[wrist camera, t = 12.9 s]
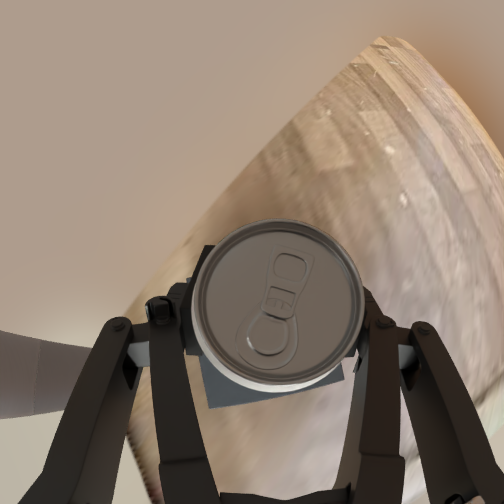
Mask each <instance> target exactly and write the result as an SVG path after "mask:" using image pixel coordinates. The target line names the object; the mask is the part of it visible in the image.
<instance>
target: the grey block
mask: <svg viewBox="0 0 504 504" xmlns="http://www.w3.org/2000/svg"><path fill="white" fill-rule="evenodd" d="M186 280H187V283H189V282H190V280H191V277H190V278H186ZM199 361H200V366H201V372H202V377H203V382H204V387H205V391H206V396H207V401H208V406H209V409H215V408H222V407H229V406H235V405H241V404H247V403H252V402H258V401H263V400H268V399H272V398H277V397H282V396H286V395H290V394H295V393H299V392H303V391H307V390H310V389H314V388H318V387H321V386H325V385H329V384H332V383H335V382H339V381H342V380H344V374H343V370H342V365H341V362H340V364H339V365H338V366H337V367H336V368H335V369H334V370H333V371H332V372H330V373H329V374H328V375H327V376H325V377H324V378H322V379H321V380H319V381H318V382H316V383H314V384H312V385H309V386H307V387H304V388H301V389H298V390H294V391H288V392H264V391H258V390H254V389H250V388H247V387H245V386H242V385H240V384H238V383H236V382H234V381H232V380H231V379H229V378H228V377H226V376H225V375H224V374H222V373H221V372H220V371H219V370H218V369H217V368H216V367H215V366H214V365H213V364H212V363H211V362H210V361H209V359H208V358H207V357H206V355H205V354H204V352H203V355H202V356H199Z"/></svg>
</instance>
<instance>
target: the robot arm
mask: <svg viewBox="0 0 504 504" xmlns="http://www.w3.org/2000/svg"><path fill="white" fill-rule="evenodd" d="M215 246H216V245H205V246H204V248H203V251H202V253H201V256H200V258H199V260H198V263H197V265H196V268H195V270H194V272H193V275H192V277H191V280H190V282H189V283H175V284H174V285H173V286H172V287H171V288H170V290H169V292H168V294H167V296H157V297H153V298H151V299H149V300H148V301H147V302H146V304H145V309H146V314H147V318H148V322H147V323H142V324H135V325H132V323H131V321H130V320H129V319H128V318H126V317H115V318H112V319H110V320H108V321H107V322H106V323H105V325H104V326H103V328H102V330H101V332H100V334H99V336H98V338H97V340H96V342H95V344H94V346H93V348H92V350H91V352H90V354H89V356H88V359H87V361H86V363H85V365H84V367H83V369H82V371H81V373H80V376H79V378H78V380H77V382H76V385H75V387H74V389H73V391H72V394H71V396H70V398H69V401H68V403H67V406H66V408H65V410H64V413H63V416H62V418H61V420H60V423H59V426H58V428H57V431H56V433H55V436H54V439H53V442H52V445H51V447H50V450H49V453H48V456H47V459H46V462H45V465H44V468H43V471H42V473H41V474H40V476H39V477H38V478H37V479H36V481H35V482H34V483H33V485H32V486H31V487H30V488H29V490H28V491H27V492H26V494H25V495H24V496H23V497H22V499H21V500H20V501H19V503H18V504H112V500H113V495H114V489H115V483H116V478H117V473H118V468H119V463H120V458H121V453H122V449H123V444H124V440H125V436H126V431H127V427H128V423H129V419H130V415H131V411H132V407H133V403H134V399H135V395H136V391H137V388H138V384H139V380H140V377H141V373H142V370H143V367H147V366H150V373H151V386H152V398H153V408H154V417H155V426H156V433H157V441H158V448H159V454H160V464H159V475H160V481H161V486H162V491H163V496H164V501H165V504H401V502H402V494H403V485H404V475H405V459H404V457H401V456H400V455H399V444H400V412H401V399H400V386H401V390H402V393H403V396H404V399H405V403H406V406H407V409H408V413H409V416H410V420H411V424H412V427H413V431H414V435H415V439H416V443H417V447H418V451H419V455H420V459H421V464H422V468H423V473H424V478H425V483H426V488H427V493H428V497H429V501H430V504H504V473H503V472H502V471H501V469H500V468H499V467H498V465H497V464H496V462H495V458H494V455H493V453H492V450H491V447H490V444H489V441H488V439H487V436H486V433H485V431H484V428H483V426H482V423H481V421H480V419H479V416H478V414H477V411H476V409H475V407H474V404H473V402H472V400H471V398H470V396H469V393H468V391H467V389H466V387H465V385H464V383H463V381H462V379H461V377H460V375H459V373H458V371H457V369H456V367H455V365H454V363H453V361H452V359H451V357H450V355H449V353H448V351H447V349H446V348H445V346H444V344H443V342H442V340H441V339H440V337H439V335H438V333H437V331H436V330H435V328H434V327H433V326H432V325H430V324H429V323H427V322H422V321H418V322H415V323H413V324H412V327H411V329H408V328H402V327H397V326H396V323H395V321H394V320H393V319H392V318H390V317H388V316H385V315H383V313H382V311H381V310H380V308H379V306H378V304H377V303H376V301H375V299H374V298H373V296H372V294H371V292H370V291H369V290H368V289H366V288H365V287H364V286H363V290H364V299H365V307H364V317H363V322H362V326H361V329H360V332H359V334H358V337H357V339H356V341H355V343H354V344H353V346H352V348H351V349H350V351H349V352H348V353H347V355H346V356H345V357H354V355H355V352H356V349H357V350H358V353H359V356H358V359H357V362H356V365H355V367H354V370H353V372H354V373H355V380H354V388H353V395H352V402H351V408H350V415H349V421H348V426H347V432H346V437H345V442H344V447H343V452H342V457H341V461H340V466H339V470H338V474H337V478H336V482H335V484H334V486H333V488H332V490H325V491H317V492H314V493H311V494H308V495H304V496H301V497H297V498H294V499H290V500H279V499H273V498H268V497H264V496H259V495H255V494H240V493H224V492H220V497H219V494H218V491H217V488H216V485H215V481H214V478H213V475H212V471H211V468H210V465H209V461H208V458H207V454H206V451H205V447H204V443H203V439H202V436H201V432H200V428H199V424H198V419H197V415H196V411H195V407H194V402H193V398H192V393H191V389H190V384H189V379H188V374H187V369H186V364H185V359H184V354H183V353H184V349H186V355H197V356H202V355H203V350H202V349H201V347H200V345H199V343H198V340H197V338H196V335H195V332H194V328H193V323H192V313H191V305H192V296H193V291H194V287H195V284H196V281H197V278H198V274H199V272H200V269H201V267H202V265H203V263H204V261H205V259H206V258H207V256H208V255H209V253H210V252H211V251H212V250H213V248H214V247H215ZM355 371H356V372H355Z"/></svg>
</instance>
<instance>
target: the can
mask: <svg viewBox="0 0 504 504" xmlns="http://www.w3.org/2000/svg"><path fill="white" fill-rule="evenodd" d="M364 307H365V299H364V290H363V285H362V281H361V278H360V275H359V272H358V270H357V268H356V266H355V264H354V262H353V260H352V259H351V257H350V256H349V254H348V253H347V252H346V250H345V249H344V248H343V247H342V246H341V245H340V244H339V243H338V242H337V241H336V240H335V239H334V238H333V237H331V236H330V235H329V234H327V233H326V232H324V231H322V230H320V229H319V228H317V227H315V226H312V225H310V224H307V223H304V222H300V221H296V220H290V219H266V220H261V221H256V222H253V223H250V224H247V225H245V226H242V227H240V228H238V229H236V230H235V231H233V232H232V233H230V234H229V235H227V236H226V237H225V238H223V239H222V240H221V241H220V242H219V243H218V244H217V245H216V246H215V247H214V248H213V250H212V251H211V252H210V253H209V255H208V256H207V258H206V259H205V261H204V263H203V265H202V267H201V269H200V272H199V274H198V278H197V281H196V284H195V287H194V291H193V296H192V305H191V313H192V323H193V328H194V332H195V335H196V338H197V340H198V343H199V345H200V347H201V349H202V350H203V352H204V354H205V355H206V357H207V358H208V359H209V361H210V362H211V363H212V364H213V365H214V366H215V367H216V368H217V369H218V370H219V371H220V372H221V373H222V374H224V375H225V376H226V377H228V378H229V379H231V380H232V381H234V382H236V383H238V384H240V385H242V386H245V387H247V388H250V389H254V390H258V391H264V392H288V391H294V390H298V389H301V388H304V387H307V386H309V385H312V384H314V383H316V382H318V381H319V380H321V379H322V378H324V377H325V376H327V375H328V374H329V373H330V372H332V371H333V370H334V369H335V368H336V367H337V366H338V365H339V364H340V362H341V361H342V360H343V359H344V357H345V356H346V355H347V353H348V352H349V351H350V349H351V348H352V346H353V344H354V343H355V341H356V339H357V337H358V334H359V332H360V329H361V326H362V322H363V317H364Z"/></svg>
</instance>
